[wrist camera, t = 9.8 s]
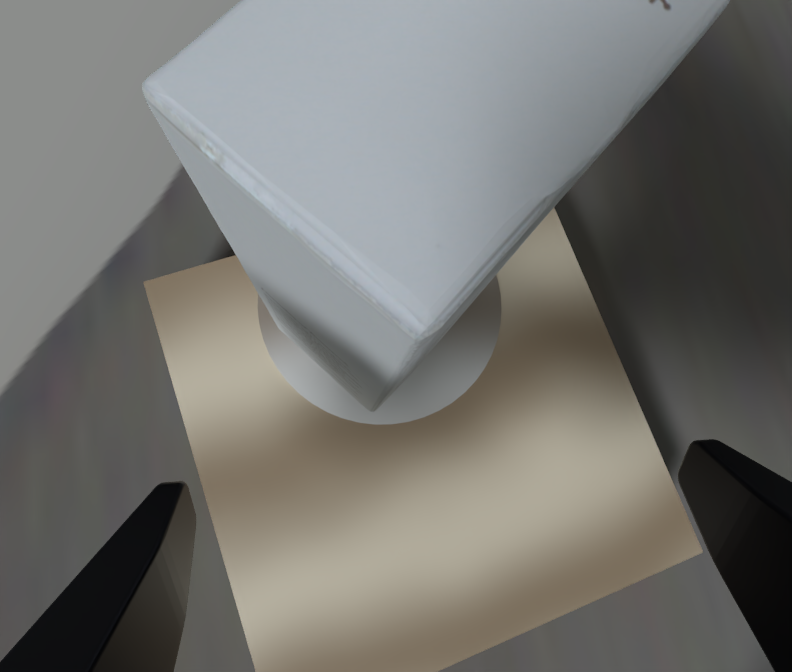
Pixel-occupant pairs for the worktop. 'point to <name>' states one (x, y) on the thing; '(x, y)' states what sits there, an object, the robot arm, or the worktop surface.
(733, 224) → the worktop surface
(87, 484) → the worktop surface
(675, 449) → the worktop surface
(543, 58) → the skincare box
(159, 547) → the robot arm
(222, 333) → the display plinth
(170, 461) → the worktop surface
